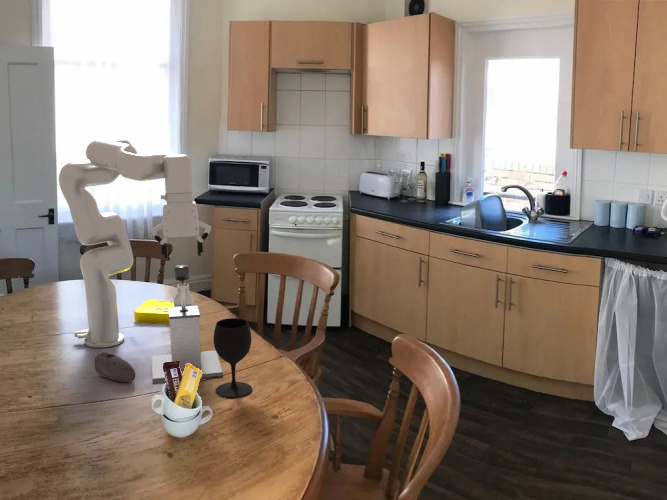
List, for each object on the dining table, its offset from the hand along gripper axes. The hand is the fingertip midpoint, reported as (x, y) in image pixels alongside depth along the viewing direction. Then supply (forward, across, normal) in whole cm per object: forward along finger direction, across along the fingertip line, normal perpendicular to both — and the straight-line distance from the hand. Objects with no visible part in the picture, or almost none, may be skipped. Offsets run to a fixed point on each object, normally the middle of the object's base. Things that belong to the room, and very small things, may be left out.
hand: (182, 256), depth 214 cm
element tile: (+35, -7, +52) cm, 63 cm away
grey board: (+35, -1, +1) cm, 35 cm away
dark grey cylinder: (+23, 0, +1) cm, 23 cm away
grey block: (+34, -1, +2) cm, 34 cm away
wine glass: (+35, +11, -19) cm, 42 cm away
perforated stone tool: (+35, -21, -3) cm, 41 cm away
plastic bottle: (+35, 0, +22) cm, 41 cm away
